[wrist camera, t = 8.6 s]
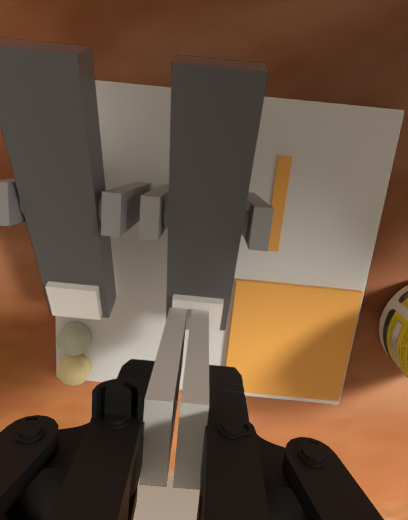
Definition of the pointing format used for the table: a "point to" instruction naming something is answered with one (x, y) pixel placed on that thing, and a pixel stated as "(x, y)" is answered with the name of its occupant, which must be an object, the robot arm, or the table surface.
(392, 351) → the pill bottle
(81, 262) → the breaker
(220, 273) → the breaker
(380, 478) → the table surface
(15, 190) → the breaker panel
